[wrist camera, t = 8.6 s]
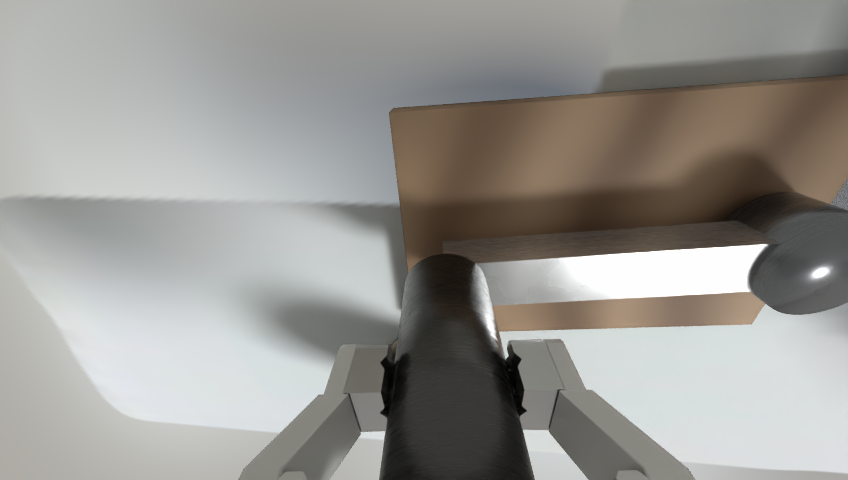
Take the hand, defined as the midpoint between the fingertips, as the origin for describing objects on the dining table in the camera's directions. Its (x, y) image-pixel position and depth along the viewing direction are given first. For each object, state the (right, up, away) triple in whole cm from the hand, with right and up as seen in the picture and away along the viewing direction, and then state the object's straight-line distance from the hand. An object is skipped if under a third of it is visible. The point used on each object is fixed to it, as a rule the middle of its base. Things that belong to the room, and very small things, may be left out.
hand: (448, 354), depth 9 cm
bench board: (+8, +4, +7) cm, 12 cm away
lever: (+8, +3, +6) cm, 10 cm away
